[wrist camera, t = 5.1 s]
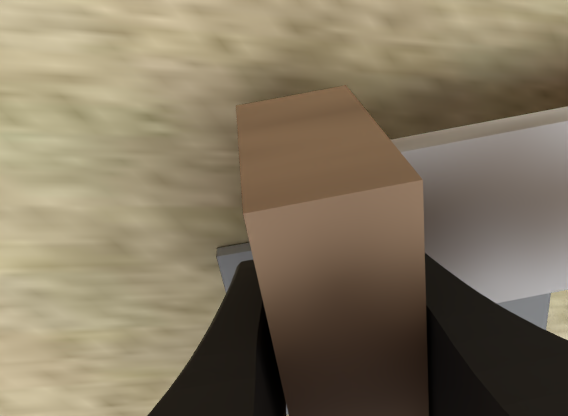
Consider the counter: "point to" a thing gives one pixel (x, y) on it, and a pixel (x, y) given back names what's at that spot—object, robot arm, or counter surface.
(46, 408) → the counter surface
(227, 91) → the counter surface
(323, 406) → the brown grey l-shaped piece
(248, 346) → the robot arm
